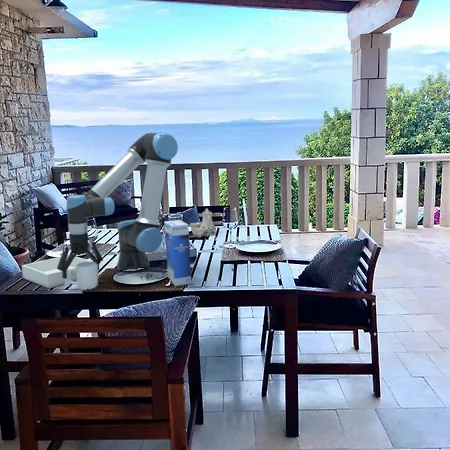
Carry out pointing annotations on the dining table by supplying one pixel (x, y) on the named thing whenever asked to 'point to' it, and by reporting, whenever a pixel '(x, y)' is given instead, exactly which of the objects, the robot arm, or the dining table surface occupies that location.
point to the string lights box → (178, 252)
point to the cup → (85, 275)
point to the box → (49, 272)
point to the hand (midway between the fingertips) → (82, 281)
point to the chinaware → (203, 225)
